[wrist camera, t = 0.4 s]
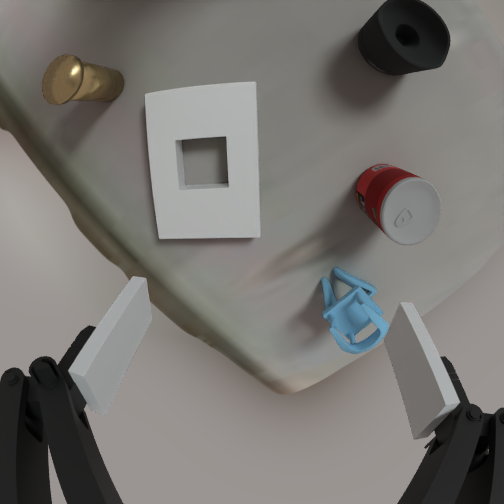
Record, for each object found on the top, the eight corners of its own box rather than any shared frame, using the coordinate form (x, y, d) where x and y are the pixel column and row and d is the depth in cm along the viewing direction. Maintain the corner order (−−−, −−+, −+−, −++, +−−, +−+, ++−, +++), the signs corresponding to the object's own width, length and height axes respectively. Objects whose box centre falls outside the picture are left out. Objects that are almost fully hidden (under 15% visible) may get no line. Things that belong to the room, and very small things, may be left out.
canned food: (343, 196, 39) (368, 222, 29) (375, 151, 36) (411, 162, 26) (382, 226, 40) (413, 258, 30) (412, 184, 37) (452, 205, 27)
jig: (153, 95, 34) (144, 93, 31) (256, 85, 33) (255, 81, 30) (165, 231, 42) (159, 238, 39) (260, 229, 41) (260, 237, 39)
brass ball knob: (93, 72, 32) (42, 64, 21) (127, 62, 32) (80, 47, 21) (93, 108, 35) (42, 110, 24) (127, 100, 34) (80, 96, 23)
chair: (346, 256, 42) (369, 300, 32) (376, 288, 44) (401, 335, 34) (309, 288, 45) (318, 338, 34) (340, 317, 47) (355, 367, 36)
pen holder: (343, 25, 28) (364, -1, 19) (398, 15, 26) (429, -6, 17) (371, 84, 32) (402, 75, 23) (424, 72, 30) (462, 64, 21)
